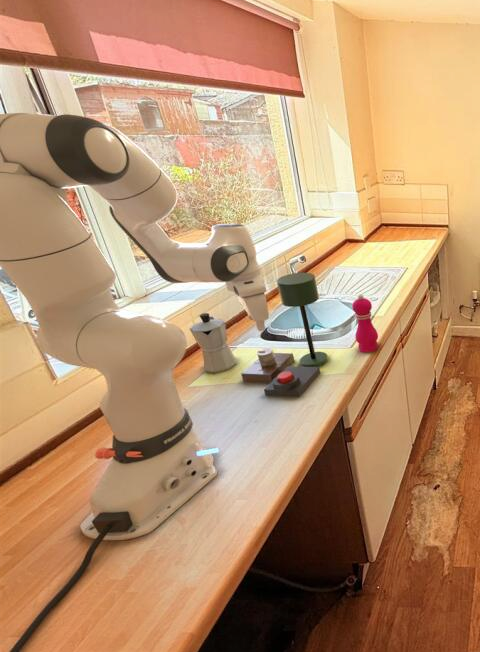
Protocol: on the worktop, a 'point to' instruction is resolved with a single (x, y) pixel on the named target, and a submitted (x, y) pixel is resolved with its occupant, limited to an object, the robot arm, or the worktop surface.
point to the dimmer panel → (267, 369)
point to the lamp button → (285, 377)
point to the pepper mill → (365, 325)
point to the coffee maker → (213, 344)
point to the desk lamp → (302, 309)
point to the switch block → (293, 382)
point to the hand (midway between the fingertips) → (257, 324)
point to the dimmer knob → (266, 357)
